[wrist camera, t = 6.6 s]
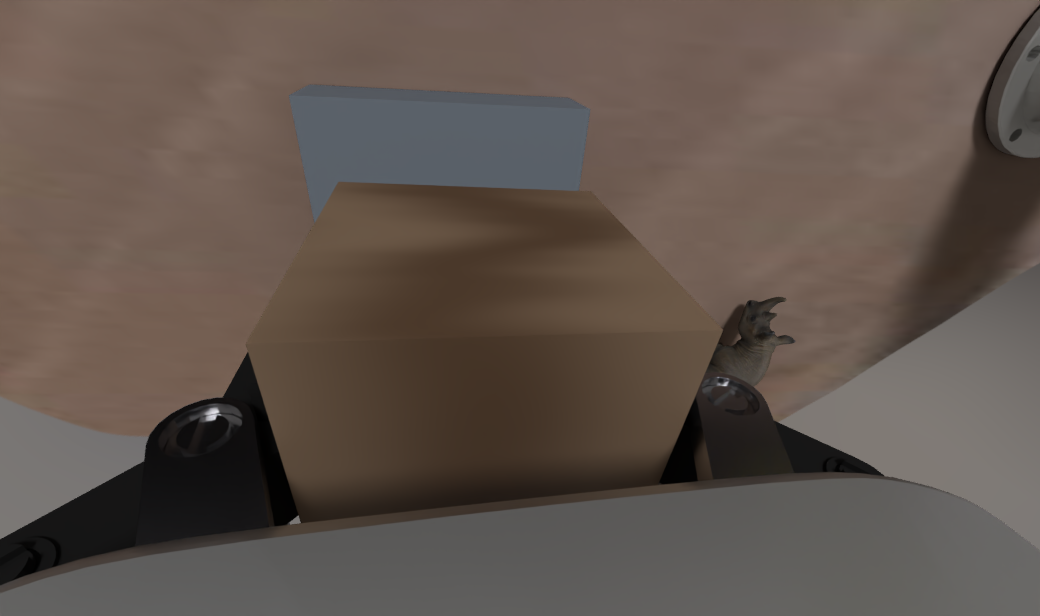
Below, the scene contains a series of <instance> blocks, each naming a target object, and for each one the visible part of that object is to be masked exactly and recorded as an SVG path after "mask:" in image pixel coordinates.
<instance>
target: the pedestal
mask: <svg viewBox="0 0 1040 616" xmlns="http://www.w3.org/2000/svg"><path fill="white" fill-rule="evenodd" d="M289 98H290V103H291V108H292V113H293V118H294V123H295V128H296V133H297V138H298V143H299V148H300V153H301V158H302V163H303V168H304V173H305V178H306V183H307V188H308V193H309V198H310V203H311V208H312V213H313V218H314V223H315V222H316V220H317V218H318V217H319V215H320V213H321V211H322V210H323V208H324V206H325V204H326V203H327V201H328V199H329V197H330V196H331V194H332V192H333V190H334V189H335V187H336V185H337V183H338V182H359V183H385V184H411V185H437V186H463V187H489V188H515V189H541V190H567V191H579V185H580V178H581V171H582V164H583V157H584V150H585V143H586V136H587V129H588V122H589V115H590V109H589V108H587V107H585V106H583V105H581V104H579V103H577V102H576V101H574V100H572V99H570V98H560V97H541V96H521V95H501V94H482V93H462V92H443V91H423V90H404V89H384V88H364V87H345V86H325V85H308V86H306V87H304V88H302V89H300V90H298V91H296V92H294V93H293V94H291V95H289Z"/></svg>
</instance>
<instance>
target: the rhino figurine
mask: <svg viewBox="0 0 1040 616" xmlns="http://www.w3.org/2000/svg"><path fill="white" fill-rule="evenodd" d="M785 301H786V298H783V297H775V298H771V299H768V300H765V301H762V302H757V301H754V300H749V301H748V302H747V304H746V306H745V309H744V311H743V314H742V317H741V320H740V322H739V325H738V330H739V334H740V336H741V340H738V341H737V343H736V344H734V345H733V346H723V345H722V344H721V343H719V344H717V346H716V348H715V351H714V353H713V355H712V358H711V360H710V363H709V365H708V367H707V370H706V372H705V373H711V372H717V373H725V374H728V375H732V376H735V377H737V378H739V379H741V380H744V381H745V382H747V383H748V384H750V385H751V386H753V387H754V386H755V385H757V384H758V383H759V382H760V381H761V379H762V378H763V376H764V374H765V372H766V370H767V369H768V366H769V363H770V359H771V356H772V353H773V352H774V349H775V347H776V346H778V345H782V344H790V343H794V342H795V340H794V339H793V338H792V337H790V336H787V335H783V336H779V337H777V336H776V335H775V332H774V331H771V329H770V327H769V325H770V321H771V320H772V319H773V318H774V317H775V316H777V314H776V313H770V312H769V311H770V310H771V309H772V308H773V307H774V306H775V305H776V304H778V303H780V302H785Z"/></svg>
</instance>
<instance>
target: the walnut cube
mask: <svg viewBox="0 0 1040 616" xmlns="http://www.w3.org/2000/svg"><path fill="white" fill-rule="evenodd" d="M722 332H723V329H722V328H721V327H720V326H719V325H718V324H717V323H716V322H715V321H714V320H713V319H712V318H711V317H710V316H709V315H708V313H707V312H706V311H705V310H704V309H703V308H702V307H701V306H700V305H699V304H698V303H697V302H696V301H695V300H694V299H693V298H692V297H691V296H690V295H689V294H688V293H687V292H686V290H685V289H684V288H683V287H682V286H681V285H680V284H679V283H678V282H677V281H676V280H675V279H674V278H673V277H672V276H671V275H670V274H669V273H668V272H667V271H666V270H665V269H664V267H663V266H662V265H661V264H660V263H659V262H658V261H657V260H656V259H655V258H654V257H653V256H652V255H651V254H650V253H649V252H648V251H647V250H646V249H645V248H644V247H643V246H642V245H641V243H640V242H639V241H638V240H637V239H636V238H635V237H634V236H633V235H632V234H631V233H630V232H629V231H628V230H627V229H626V228H625V227H624V226H623V225H622V224H621V223H620V222H619V220H618V219H617V218H616V217H615V216H614V215H613V214H612V213H611V212H610V211H609V210H608V209H607V208H606V207H605V206H604V205H603V204H602V203H601V202H600V201H599V200H598V199H597V197H596V196H595V195H594V194H593V193H592V192H591V191H567V190H541V189H515V188H489V187H463V186H437V185H411V184H385V183H359V182H338V183H337V185H336V187H335V189H334V190H333V192H332V194H331V196H330V197H329V199H328V201H327V203H326V204H325V206H324V208H323V210H322V211H321V213H320V215H319V217H318V218H317V220H316V222H315V224H314V225H313V227H312V229H311V231H310V232H309V234H308V236H307V238H306V239H305V241H304V243H303V245H302V246H301V248H300V250H299V252H298V253H297V255H296V257H295V258H294V260H293V262H292V264H291V265H290V267H289V269H288V271H287V272H286V274H285V276H284V278H283V279H282V281H281V283H280V285H279V286H278V288H277V290H276V292H275V293H274V295H273V297H272V299H271V300H270V302H269V304H268V306H267V307H266V309H265V311H264V313H263V314H262V316H261V318H260V320H259V321H258V323H257V325H256V327H255V328H254V330H253V332H252V334H251V335H250V337H249V339H248V341H247V342H246V347H247V350H248V353H249V356H250V359H251V363H252V366H253V369H254V372H255V376H256V379H257V382H258V385H259V389H260V392H261V395H262V398H263V402H264V405H265V408H266V411H267V414H268V418H269V421H270V424H271V427H272V431H273V434H274V437H275V440H276V444H277V447H278V450H279V453H280V457H281V460H282V463H283V466H284V469H285V473H286V476H287V479H288V482H289V486H290V489H291V492H292V495H293V499H294V502H295V505H296V508H297V512H298V515H299V518H300V521H301V523H308V522H317V521H326V520H335V519H345V518H354V517H363V516H372V515H381V514H390V513H399V512H408V511H417V510H426V509H435V508H444V507H453V506H463V505H472V504H482V503H491V502H500V501H510V500H519V499H529V498H538V497H548V496H557V495H567V494H577V493H586V492H596V491H605V490H615V489H625V488H635V487H646V486H656V485H658V483H659V481H660V479H661V476H662V474H663V472H664V469H665V467H666V464H667V462H668V460H669V457H670V455H671V453H672V450H673V448H674V446H675V443H676V441H677V438H678V436H679V434H680V431H681V429H682V427H683V424H684V422H685V419H686V417H687V415H688V412H689V410H690V408H691V405H692V403H693V400H694V398H695V396H696V393H697V391H698V389H699V386H700V384H701V381H702V379H703V377H704V374H705V372H706V370H707V367H708V365H709V363H710V360H711V358H712V355H713V353H714V351H715V348H716V346H717V344H718V341H719V339H720V336H721V334H722Z"/></svg>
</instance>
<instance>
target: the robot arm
mask: <svg viewBox="0 0 1040 616" xmlns="http://www.w3.org/2000/svg"><path fill="white" fill-rule="evenodd" d="M986 130H987V133H988V136H989V139H990V141H991V142H992V144H993V145H994V146H995V147H996V148H997V149H998V150H1000V151H1002V152H1004V153H1006V154H1010V155H1014V156H1018V157H1022V158H1038V157H1040V8H1039V9H1038V11H1037V12H1036V13H1035V14H1034V15H1033V16H1032V18H1031V19H1030V20H1029V22H1028V23H1027V24H1026V26H1025V27H1024V28H1023V30H1022V31H1021V32H1020V34H1019V35H1018V36H1017V38H1016V40H1015V41H1014V43H1013V44H1012V46H1011V48H1010V49H1009V51H1008V53H1007V54H1006V56H1005V57H1004V60H1003V62H1002V64H1001V66H1000V68H999V70H998V72H997V74H996V76H995V78H994V81H993V84H992V87H991V90H990V93H989V96H988V102H987V108H986ZM297 516H298V512H297V508H296V505H295V502H294V499H293V495H292V492H291V489H290V486H289V482H288V479H287V476H286V473H285V469H284V466H283V463H282V460H281V457H280V453H279V450H278V447H277V444H276V440H275V437H274V434H273V431H272V427H271V424H270V421H269V418H268V414H267V411H266V408H265V405H264V402H263V398H262V395H261V392H260V389H259V385H258V382H257V379H256V376H255V372H254V369H253V366H252V363H251V359H250V356H249V353H248V352H247V354H246V356H245V358H244V360H243V362H242V363H241V365H240V367H239V369H238V371H237V372H236V374H235V376H234V378H233V380H232V382H231V383H230V385H229V387H228V389H227V391H226V393H225V394H224V396H223V398H211V399H206V400H201V401H198V402H195V403H192V404H189V405H187V406H184V407H183V408H181V409H179V410H177V411H175V412H173V413H171V414H170V415H169V416H167V417H166V418H165V419H164V420H162V421H161V422H160V423H159V424H158V425H157V426H156V427H155V428H154V430H153V431H152V432H151V433H150V435H149V438H148V441H147V443H146V449H145V459H144V462H142V463H140V464H138V465H136V466H134V467H133V468H131V469H129V470H127V471H125V472H124V473H122V474H120V475H118V476H116V477H114V478H112V479H111V480H109V481H107V482H105V483H103V484H101V485H99V486H98V487H96V488H94V489H92V490H90V491H89V492H87V493H85V494H83V495H81V496H79V497H77V498H76V499H74V500H72V501H70V502H68V503H66V504H65V505H63V506H61V507H59V508H57V509H55V510H53V511H52V512H50V513H48V514H46V515H45V516H42V517H41V518H39V519H37V520H35V521H34V522H32V523H30V524H28V525H26V526H24V527H22V528H20V529H19V530H17V531H15V532H13V533H11V534H9V535H8V536H6V537H4V538H2V539H0V616H1040V550H1039V549H1038V548H1036V547H1035V546H1034V545H1032V544H1031V543H1030V542H1028V541H1027V540H1026V539H1024V538H1023V537H1022V536H1021V535H1019V534H1018V533H1017V532H1015V531H1014V530H1013V529H1011V528H1010V527H1009V526H1007V525H1006V524H1005V523H1003V522H1002V521H1001V520H999V519H998V518H996V517H995V516H993V515H992V514H990V513H989V512H987V511H986V510H984V509H983V508H981V507H979V506H978V505H975V504H974V503H972V502H970V501H968V500H966V499H964V498H961V497H958V496H956V495H953V494H951V493H948V492H945V491H942V490H939V489H936V488H933V487H930V486H926V485H922V484H918V483H914V482H910V481H906V480H902V479H898V478H894V477H885V476H884V475H883V474H881V473H880V472H879V471H877V470H876V469H875V468H874V467H872V466H870V465H869V464H867V463H865V462H863V461H861V460H859V459H857V458H855V457H853V456H851V455H848V454H846V453H844V452H842V451H840V450H837V449H835V448H833V447H831V446H829V445H826V444H824V443H822V442H820V441H818V440H815V439H813V438H811V437H809V436H807V435H804V434H802V433H800V432H798V431H796V430H793V429H791V428H789V427H787V426H784V425H782V424H780V423H778V422H776V421H774V420H773V417H772V415H771V412H770V410H769V407H768V404H767V402H766V401H765V399H764V397H763V396H762V394H761V393H760V392H759V391H758V390H756V389H755V388H754V387H753V386H751V385H750V384H748V383H747V382H745V381H744V380H741V379H739V378H737V377H735V376H732V375H728V374H725V373H717V372H711V373H705V374H704V377H703V379H702V381H701V384H700V386H699V389H698V391H697V393H696V396H695V398H694V400H693V403H692V405H691V408H690V410H689V412H688V415H687V417H686V419H685V422H684V424H683V427H682V429H681V431H680V434H679V436H678V438H677V441H676V443H675V446H674V448H673V450H672V453H671V455H670V457H669V460H668V462H667V464H666V467H665V469H664V472H663V474H662V476H661V479H660V481H659V483H658V485H656V486H646V487H635V488H625V489H615V490H605V491H596V492H586V493H577V494H567V495H557V496H548V497H538V498H529V499H519V500H510V501H500V502H491V503H482V504H472V505H463V506H453V507H444V508H435V509H426V510H417V511H408V512H399V513H390V514H381V515H372V516H363V517H354V518H345V519H335V520H326V521H317V522H308V523H300V524H292V525H290V523H289V522H290V521H291V520H293V519H294V518H295V517H297Z"/></svg>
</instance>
